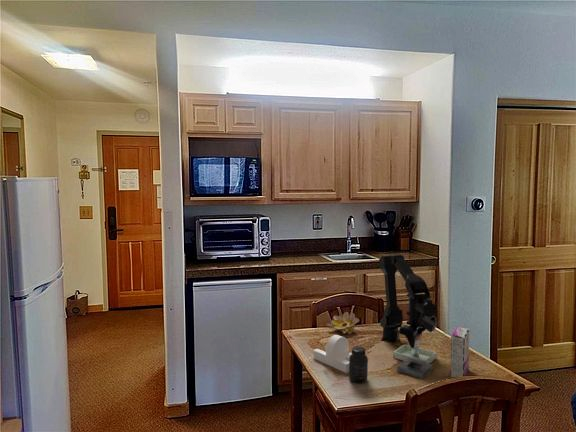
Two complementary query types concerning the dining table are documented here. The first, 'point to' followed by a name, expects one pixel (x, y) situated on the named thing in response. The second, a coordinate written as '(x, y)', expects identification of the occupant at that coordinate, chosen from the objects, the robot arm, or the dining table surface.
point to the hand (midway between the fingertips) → (414, 346)
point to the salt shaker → (415, 347)
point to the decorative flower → (344, 322)
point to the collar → (407, 369)
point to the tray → (424, 357)
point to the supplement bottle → (358, 365)
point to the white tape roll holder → (335, 353)
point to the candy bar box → (459, 352)
